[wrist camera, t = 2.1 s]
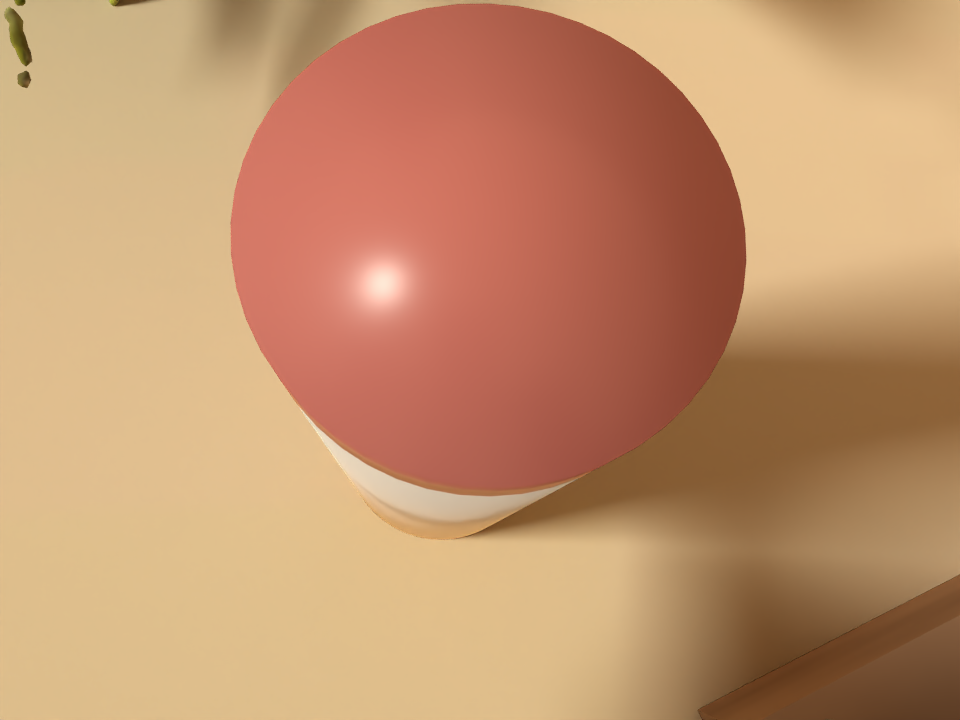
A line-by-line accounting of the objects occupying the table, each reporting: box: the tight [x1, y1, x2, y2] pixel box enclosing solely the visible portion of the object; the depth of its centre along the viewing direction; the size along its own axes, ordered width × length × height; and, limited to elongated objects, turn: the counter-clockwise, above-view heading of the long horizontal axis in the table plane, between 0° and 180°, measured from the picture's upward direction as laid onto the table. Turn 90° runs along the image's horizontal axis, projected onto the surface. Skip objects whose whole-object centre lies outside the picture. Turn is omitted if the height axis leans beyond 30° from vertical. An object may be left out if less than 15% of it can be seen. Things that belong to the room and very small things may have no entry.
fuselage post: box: [231, 4, 746, 540], centre depth 14 cm, size 5×5×13 cm
